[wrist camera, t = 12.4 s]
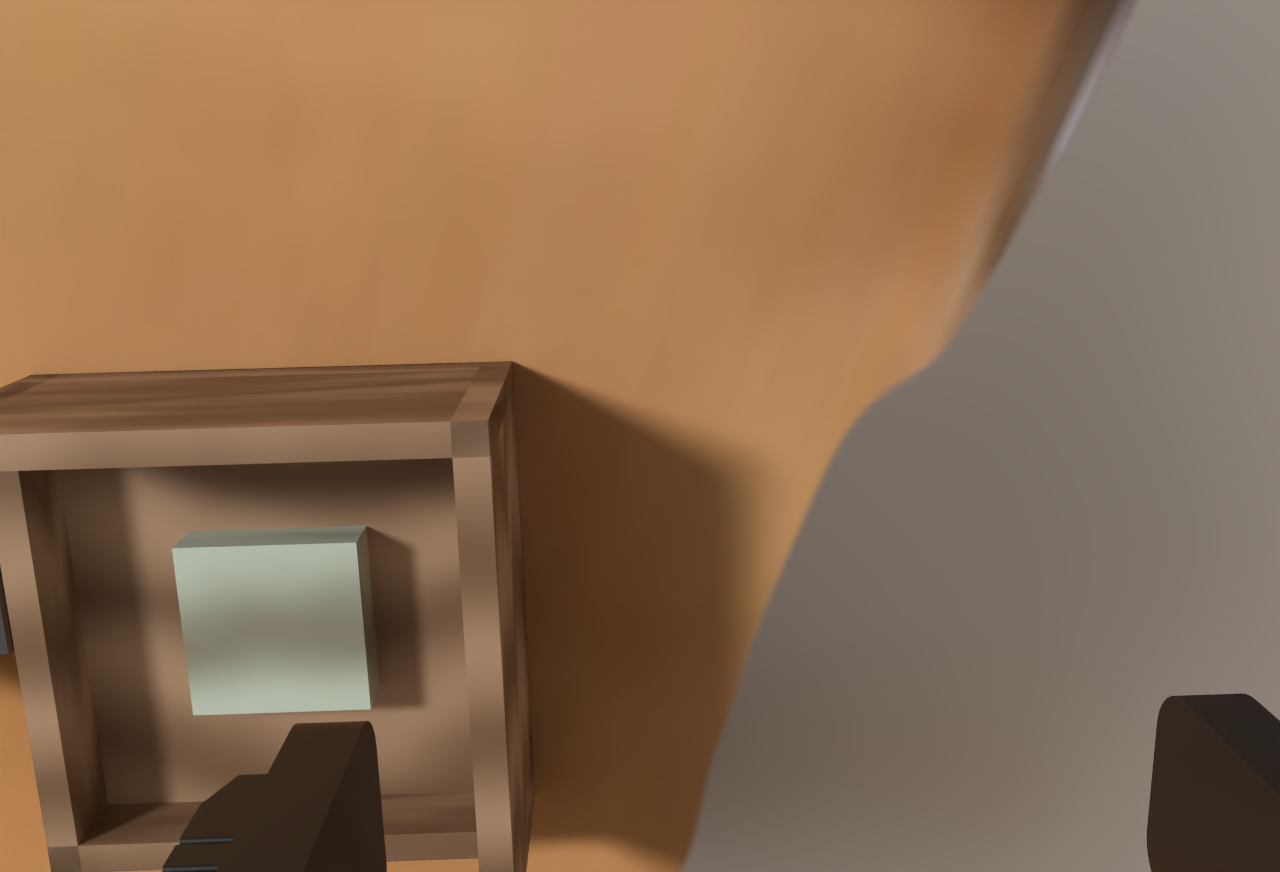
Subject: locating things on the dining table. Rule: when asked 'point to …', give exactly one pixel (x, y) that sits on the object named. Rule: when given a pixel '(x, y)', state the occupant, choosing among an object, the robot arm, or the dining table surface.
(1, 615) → the felt pad
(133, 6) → the dining table surface
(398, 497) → the crate
